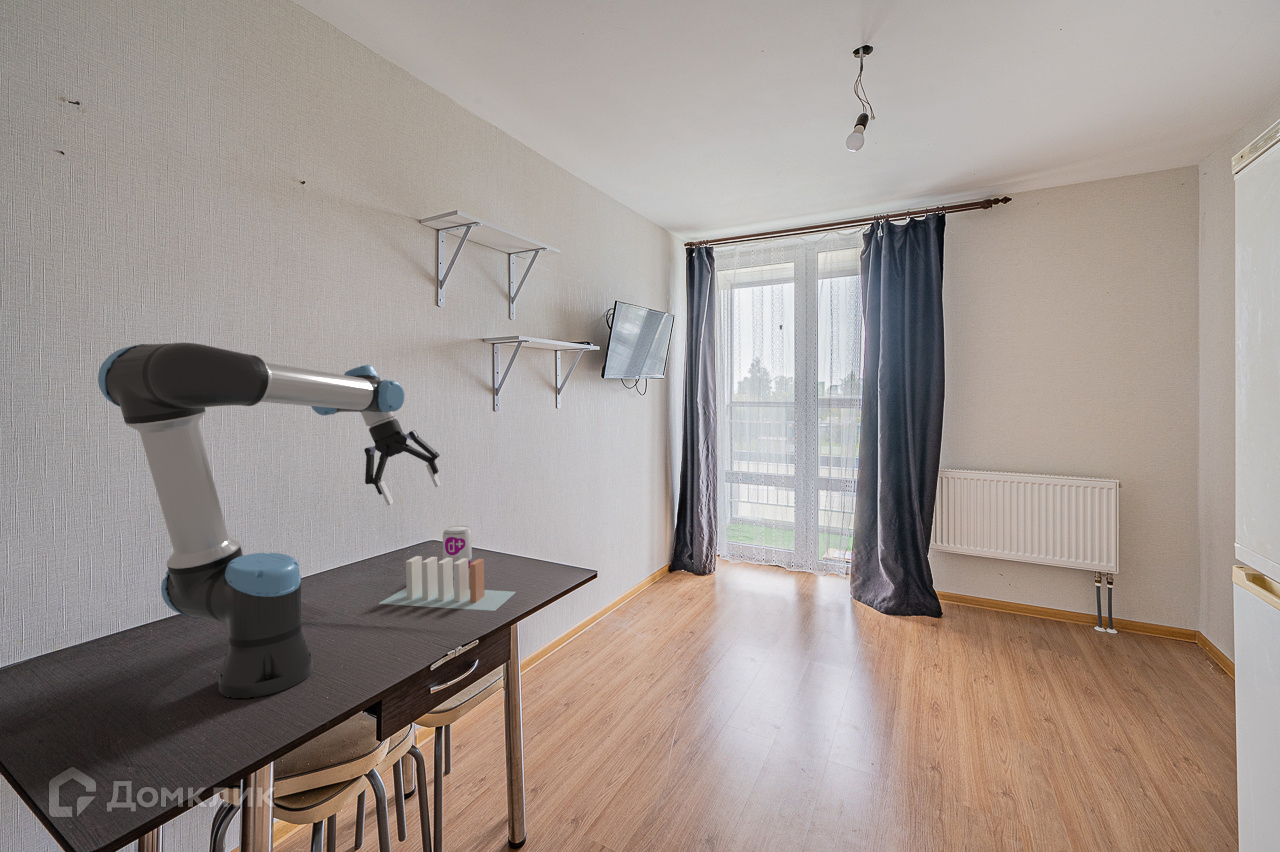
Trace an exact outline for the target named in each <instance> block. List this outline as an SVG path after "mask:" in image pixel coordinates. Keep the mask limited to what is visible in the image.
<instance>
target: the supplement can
mask: <svg viewBox="0 0 1280 852" xmlns="http://www.w3.org/2000/svg"><path fill="white" fill-rule="evenodd" d="M472 541H473V540H472V531H471V529H470V527H469V526H467V525H454V526H453V525H452V526H448V527H446V528H445V529H444V531H443V533H442V560H443V559H445V558H453V564H454V563H455V562H457V561H459V560H460V559H462V558H468V575H469V576H470V564H471V563H473V557H472V555H473V554H472V552H473V549H472V548H473V546H472ZM453 579H454V566H453Z"/></svg>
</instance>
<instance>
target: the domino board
mask: <svg viewBox="0 0 1280 852" xmlns="http://www.w3.org/2000/svg"><path fill="white" fill-rule="evenodd" d="M484 592H485V596H484V597H483V598H481V599H480V600H479V601H478V602H476V603H473V602H470V588H469V595H468V596H467V597H466V598H464V599H463V600H462V601H460V602H456V601H454V587H453V595H452V596H450V597H449V598H447V599H446V600H444V601H439V600H438V594H436V595H435V596H433V597H432V598H430V599H429V600H422V593H421V594H419V595H418V596H416V597H415V598H413V599H407V587H404V588H403V589H402V590H400V591H398V592H396V593H394V594H393V595H391V596H389V597H387V598H386V599H384V600H382V601H380V602H378V605H391V606H392V605H393V606H409V607H410V606H411V607H427V608H440V609H441V608H443V609H457V610H458V609H459V610H472V611H473V610H475V611H478V610H479V611H489V612H490V611H492V612H496V611H497V609H499V608H500V607H501V606H502V605H504V604H505V603H506V602H507V601H508V600H509V599H510V598H512V597H513V596H514V595H515V594H516V593H517V591H513V590H512V591H509V590H508V591H507V590H492V589H484Z"/></svg>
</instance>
